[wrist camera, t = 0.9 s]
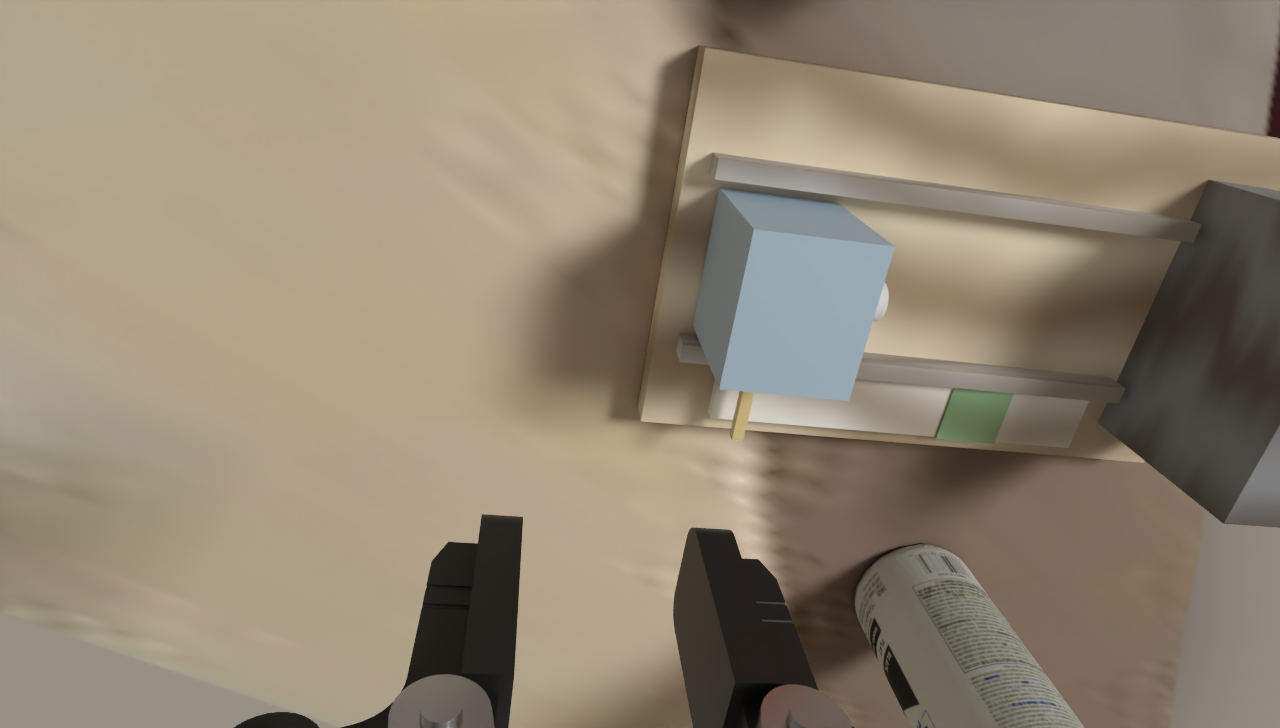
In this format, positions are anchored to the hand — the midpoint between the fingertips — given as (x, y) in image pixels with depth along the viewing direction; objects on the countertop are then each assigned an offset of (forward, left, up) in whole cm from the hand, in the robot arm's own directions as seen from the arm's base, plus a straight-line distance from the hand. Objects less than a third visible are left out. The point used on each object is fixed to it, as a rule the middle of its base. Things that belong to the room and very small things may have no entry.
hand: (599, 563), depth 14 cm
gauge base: (0, +17, -21) cm, 27 cm away
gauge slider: (+2, +9, -20) cm, 22 cm away
